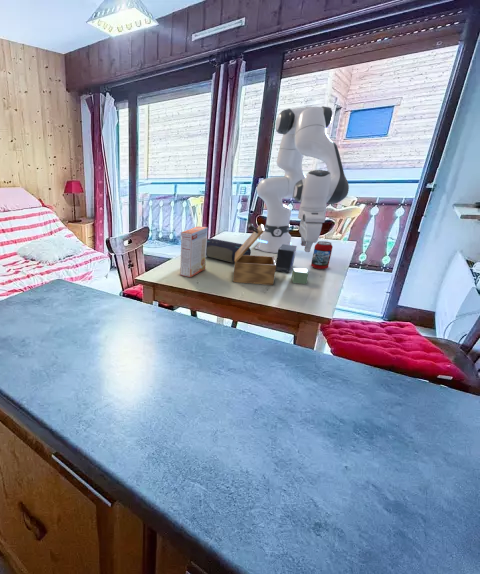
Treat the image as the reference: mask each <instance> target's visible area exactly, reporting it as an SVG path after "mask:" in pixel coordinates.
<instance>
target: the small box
mask: <svg viewBox="0 0 480 574" xmlns="http://www.w3.org/2000/svg"><path fill="white" fill-rule="evenodd" d="M296 252H297V245H291V244H290V245H286V244H282V245H281V247H280V248H279V249H278V253H276V254H277V255H276V258H275V259H276V260H275V263H276V270H275V272H282V273H290V271H291V270H292V269H293V268H294V267H293V266H294V264H295V263H294V262H295V257H296V254H297V253H296Z"/></svg>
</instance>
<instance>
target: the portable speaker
mask: <svg viewBox="0 0 480 574" xmlns="http://www.w3.org/2000/svg"><path fill="white" fill-rule="evenodd" d="M243 244H244V243H238V242H233V241H227V240H224V239H223V240H222V239H217V238H207V245H206V258H212V259H215V260H219V261H224V262H228V263H233V264H235V253H236V251H237V250H238V249H239V248H240V247H241V246H242V245H243ZM243 255H252V251H251V247H249V249H248V250H247V251H246V252H245V253H244V254H243Z"/></svg>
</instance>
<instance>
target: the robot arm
mask: <svg viewBox="0 0 480 574" xmlns="http://www.w3.org/2000/svg"><path fill="white" fill-rule="evenodd" d="M333 114H334V113H333V110H332V108H331V107H329V106H304V107H295V108H287V109H283V110H281V111H280V112H279V113H278V116H277V118H276V120H275V131H276V133H277V134H279V135H282V137H281V140H280V144H279V148H278V153H277V156H276V157H277V158H276V165H277V167H278V168H279V169H281V170H282V171H284V176H271V177H267V178H263V179H261V180H260V181H259V182H258V184H257V186H256V193H257V196H258V197H259V198H260V199H261V200H262V201H263V202H264V203H265V206H266V221H265V224H264V226H263V228H264V232H263V233H262V234H261V235H260V236H259V238H258V239H257V240H256V241H257V244H256V245H255V246H254V249H255V250H260V251H261V252H265V253H273V254H277V253H278V249H279V248H280V247H281V245H282V244H286V245H292V244H293V243H292V242H291V241H292V235H291V234H290V233H289V232H290V230H291V229H290V228H291V224H290V222H291V221H290V220H291V215H292V209H290V207H289V206H287V205H286V204H284V202H283V199H294V200H295V201H296V202H297V203H300V205H299V207H298V209H299V210H298V214H297V219H298V220H300V222H299V228H298V232H299V234H300V245H301V246H302V247H304V252H305V253H310V252H311V250H312V249H311V248H312V246H313V244H317V242H319V238H320V235H321V231H322V228H323V223H325V222H326V211H327V207H328V205H327V204H333V205H334V204H335V205H337V204H338V203H340V202H342V201H343V200H344V199H345V198H347V196H348V195H349V192H350V191H349V189H350V185H349V182H348V179H347V177H346V174H345V171H344V167H343V163H342V159H341V155H340V151H339V148H338V144H337V143H336V142H335V141H332V140H331V138H329V135H328V134H327V129H329V127H330V125H331V123H332V121H333V116H334V115H333ZM304 156H305V157H309V158H314V159H317V160H319V161H321V162H323V163H324V164H325V166H326V170H323V169H314V170H309V171H308V172H307V173H306V174H305V172H304V171H303V159H304Z"/></svg>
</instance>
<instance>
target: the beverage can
mask: <svg viewBox="0 0 480 574" xmlns="http://www.w3.org/2000/svg"><path fill="white" fill-rule="evenodd" d="M332 251H333V244H332V242H330V241H326V240H325V241H324V240H321V241H319V240H318V241H317V242H316V243H315V245H314V247H313V252H312V258H311V264H310V266H311V267H312V268H313V269H316V270H325V269H328V268H329V265H330V260H331V257H332V253H333V252H332Z"/></svg>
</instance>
